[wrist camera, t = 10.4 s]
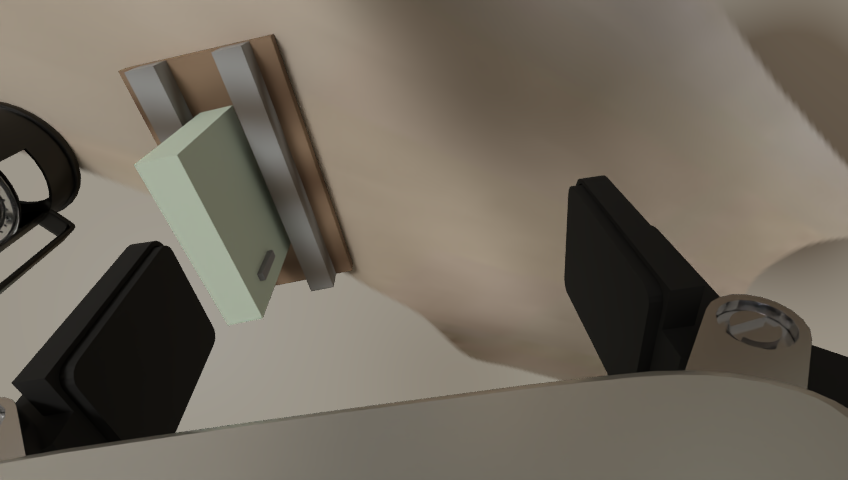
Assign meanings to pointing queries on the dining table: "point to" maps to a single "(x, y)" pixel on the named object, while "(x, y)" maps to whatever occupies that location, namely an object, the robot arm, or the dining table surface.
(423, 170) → the dining table surface
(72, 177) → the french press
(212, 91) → the door track
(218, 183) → the door panel
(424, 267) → the dining table surface
